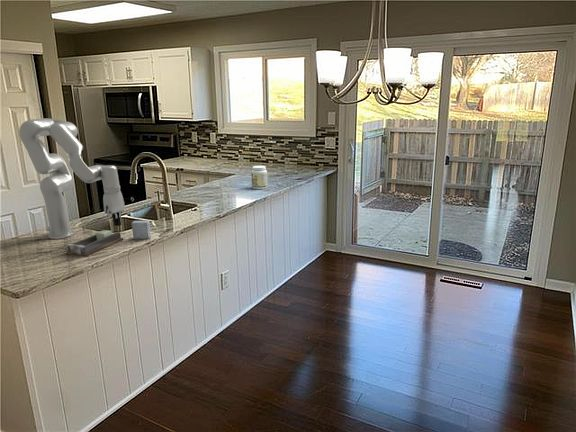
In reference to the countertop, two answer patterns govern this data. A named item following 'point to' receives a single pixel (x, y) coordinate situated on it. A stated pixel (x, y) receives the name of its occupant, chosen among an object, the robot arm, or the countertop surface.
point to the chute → (93, 244)
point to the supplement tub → (259, 177)
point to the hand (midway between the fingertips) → (117, 225)
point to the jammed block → (103, 234)
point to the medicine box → (141, 230)
